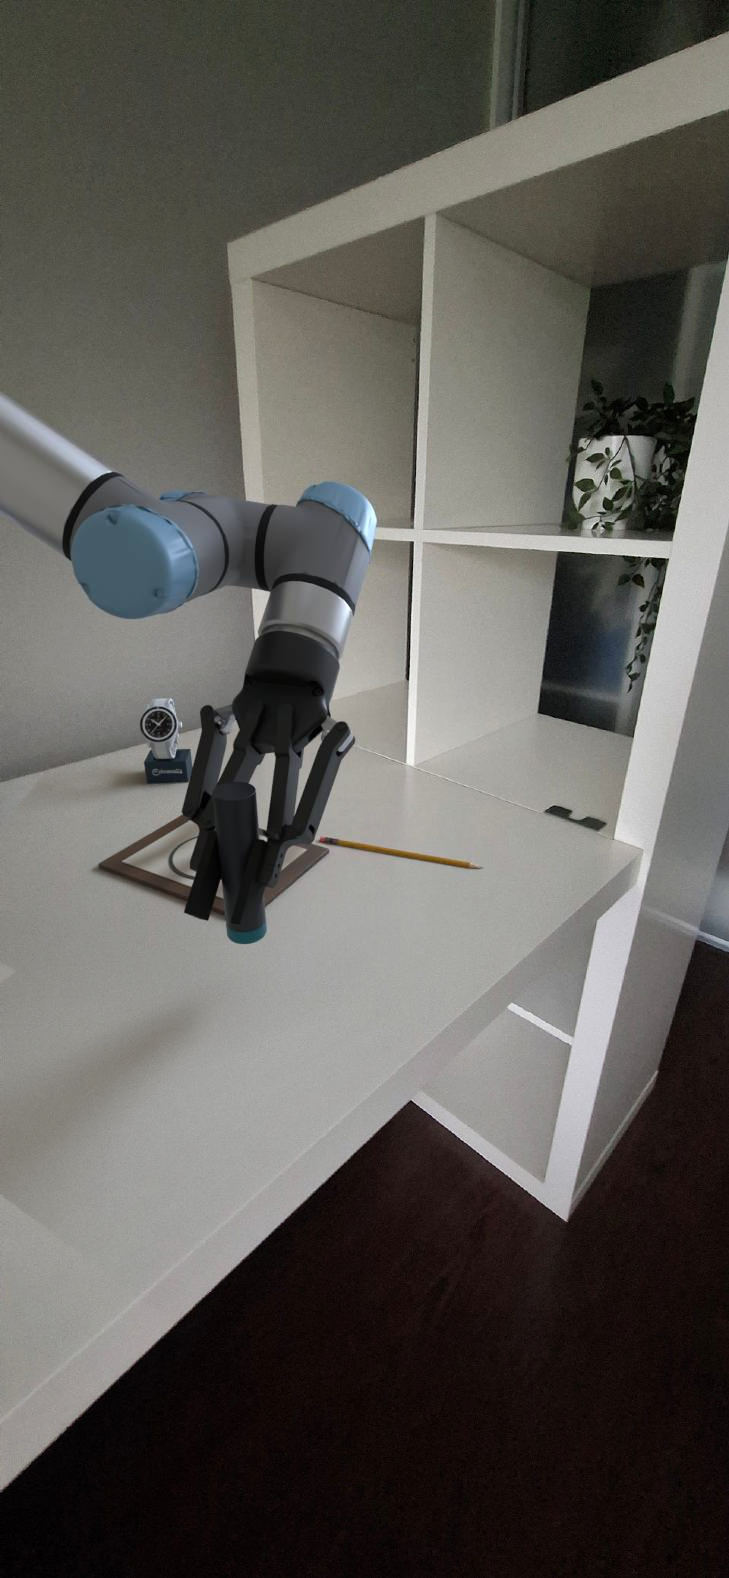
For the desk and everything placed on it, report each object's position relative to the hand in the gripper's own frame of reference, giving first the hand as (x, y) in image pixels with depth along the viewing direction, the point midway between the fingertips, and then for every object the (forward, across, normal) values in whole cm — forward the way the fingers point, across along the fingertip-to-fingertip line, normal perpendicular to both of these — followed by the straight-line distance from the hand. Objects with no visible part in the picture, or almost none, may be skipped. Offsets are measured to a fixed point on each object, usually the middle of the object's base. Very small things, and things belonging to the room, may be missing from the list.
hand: (219, 921), depth 52 cm
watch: (-20, +29, -32) cm, 48 cm away
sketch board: (-8, +12, -20) cm, 25 cm away
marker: (0, 0, -6) cm, 6 cm away
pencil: (-13, -6, -26) cm, 30 cm away
